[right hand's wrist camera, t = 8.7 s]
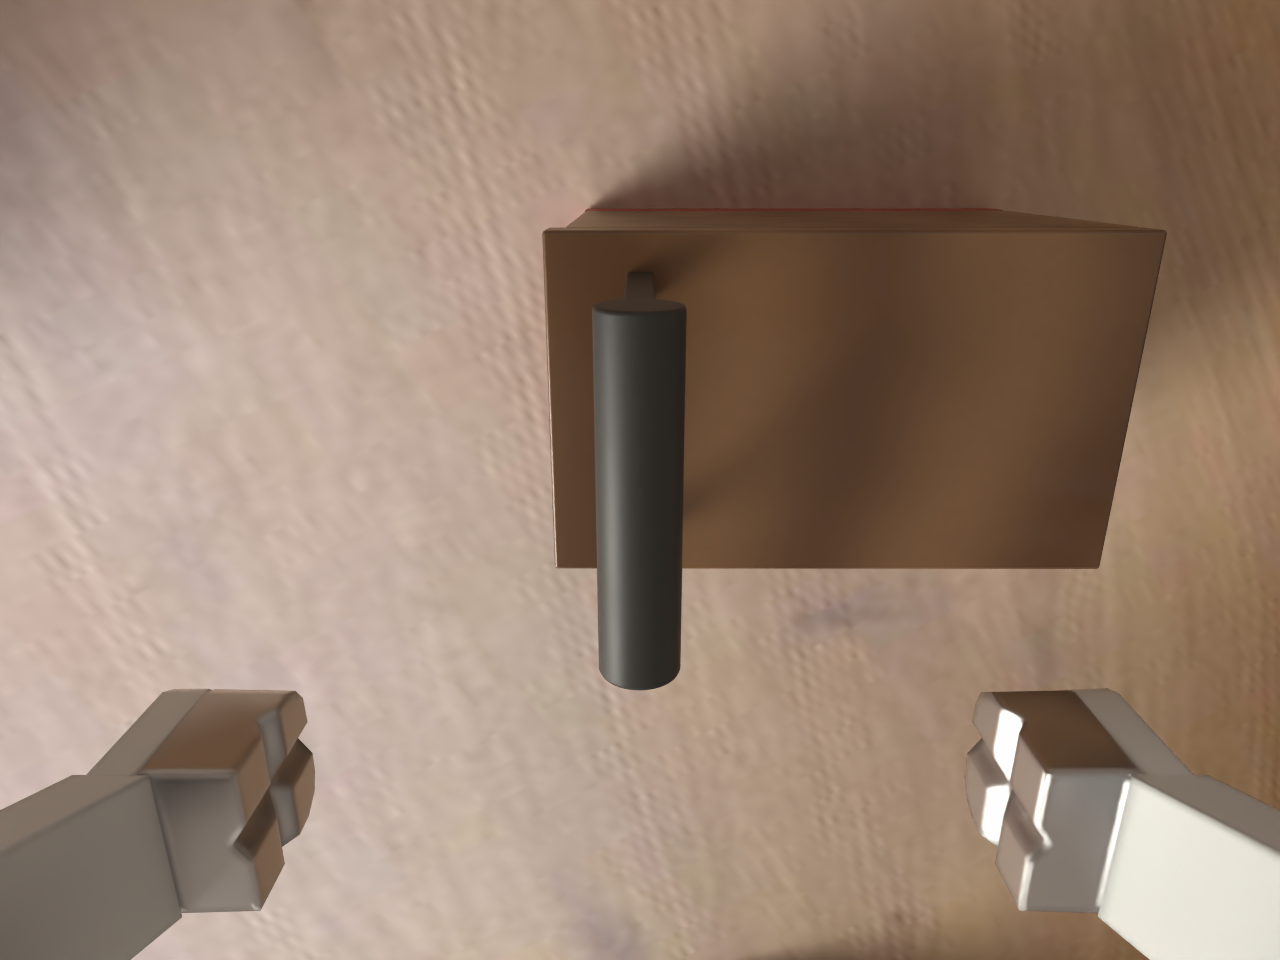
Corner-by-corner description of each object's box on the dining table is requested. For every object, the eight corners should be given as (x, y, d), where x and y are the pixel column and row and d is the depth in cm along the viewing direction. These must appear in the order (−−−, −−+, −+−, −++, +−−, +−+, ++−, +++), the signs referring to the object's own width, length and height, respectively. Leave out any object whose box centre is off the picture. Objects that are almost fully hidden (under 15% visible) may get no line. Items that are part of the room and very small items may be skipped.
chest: (592, 445, 37) (573, 551, 27) (587, 208, 34) (563, 226, 24) (958, 445, 37) (1080, 552, 27) (990, 208, 34) (1143, 226, 24)
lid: (558, 552, 27) (520, 727, 18) (546, 227, 24) (493, 260, 15) (1080, 552, 27) (1280, 728, 18) (1143, 227, 23) (1422, 260, 15)
